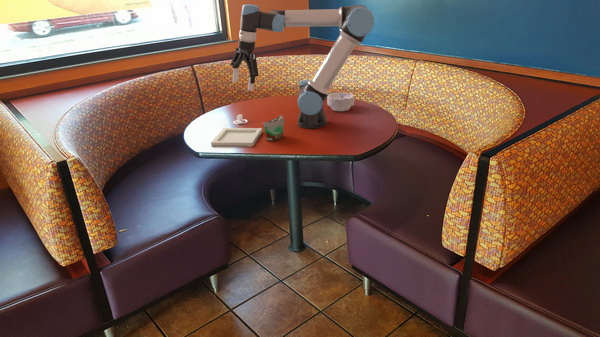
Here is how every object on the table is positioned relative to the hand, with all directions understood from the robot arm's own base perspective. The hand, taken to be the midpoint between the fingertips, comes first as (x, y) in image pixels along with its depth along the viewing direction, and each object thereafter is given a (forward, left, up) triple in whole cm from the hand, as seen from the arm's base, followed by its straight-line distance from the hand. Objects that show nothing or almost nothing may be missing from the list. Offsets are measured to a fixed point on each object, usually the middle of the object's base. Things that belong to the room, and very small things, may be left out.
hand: (242, 85), depth 214 cm
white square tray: (+4, +6, -25) cm, 26 cm away
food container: (-16, +6, -25) cm, 30 cm away
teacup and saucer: (+12, -18, -25) cm, 34 cm away
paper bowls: (-43, -42, -25) cm, 66 cm away
